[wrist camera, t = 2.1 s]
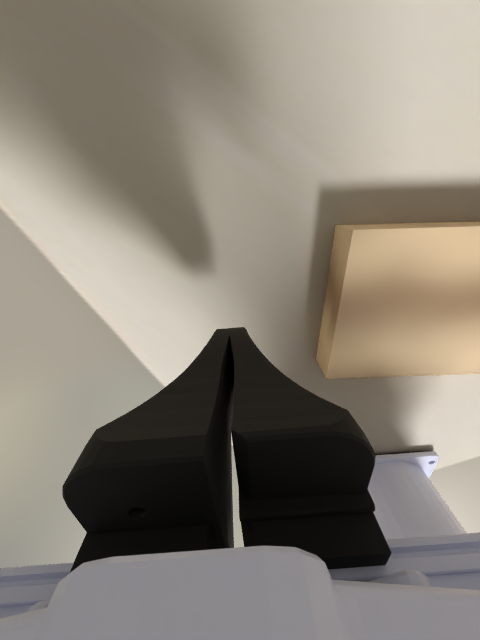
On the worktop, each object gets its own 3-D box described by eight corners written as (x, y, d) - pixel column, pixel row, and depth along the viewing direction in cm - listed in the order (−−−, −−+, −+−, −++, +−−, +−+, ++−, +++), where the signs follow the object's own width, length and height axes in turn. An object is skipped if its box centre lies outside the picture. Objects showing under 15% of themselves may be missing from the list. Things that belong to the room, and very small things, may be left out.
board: (497, 348, 17) (537, 371, 15) (313, 354, 17) (326, 379, 14) (570, 217, 13) (639, 221, 11) (332, 224, 13) (353, 229, 11)
